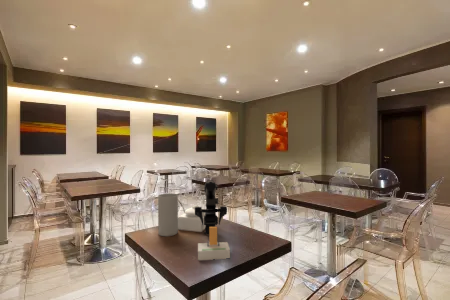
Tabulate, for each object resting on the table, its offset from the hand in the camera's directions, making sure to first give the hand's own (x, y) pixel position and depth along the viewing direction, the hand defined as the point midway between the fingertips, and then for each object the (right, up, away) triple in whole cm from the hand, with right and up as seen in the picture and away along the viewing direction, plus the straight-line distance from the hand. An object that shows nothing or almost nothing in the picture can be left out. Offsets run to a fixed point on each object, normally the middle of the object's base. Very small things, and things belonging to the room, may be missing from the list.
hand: (211, 224), depth 135 cm
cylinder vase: (-30, -13, +22) cm, 39 cm away
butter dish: (-14, -13, +35) cm, 40 cm away
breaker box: (+2, -13, -10) cm, 16 cm away
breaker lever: (+2, -8, -8) cm, 12 cm away
